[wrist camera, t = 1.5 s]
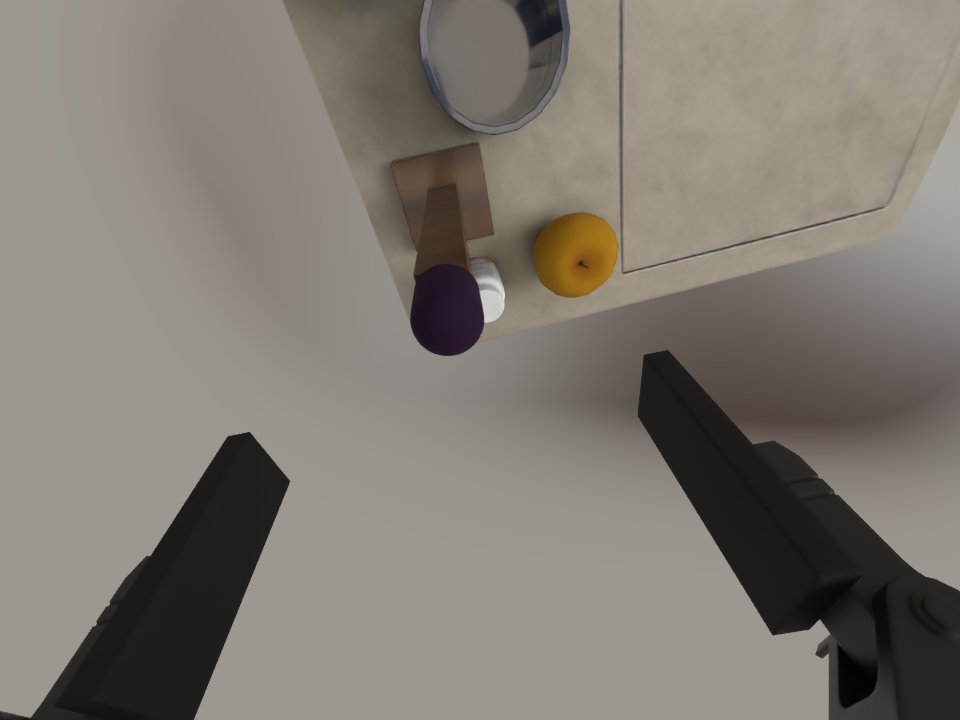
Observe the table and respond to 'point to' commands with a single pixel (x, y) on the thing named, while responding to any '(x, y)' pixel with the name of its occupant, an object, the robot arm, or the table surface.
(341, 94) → the table surface
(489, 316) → the pill bottle
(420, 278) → the purple plum
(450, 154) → the stand
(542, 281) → the apple
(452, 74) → the pot
